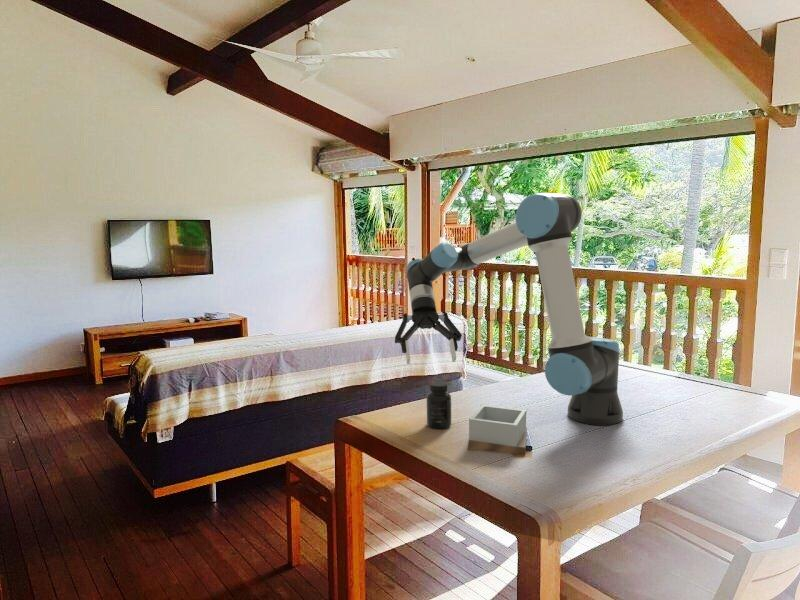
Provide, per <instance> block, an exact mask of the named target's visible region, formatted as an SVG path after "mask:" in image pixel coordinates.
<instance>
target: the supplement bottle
mask: <svg viewBox="0 0 800 600" xmlns="http://www.w3.org/2000/svg"><path fill="white" fill-rule="evenodd" d="M426 425H427V426H428V427H429V428H430V429H434V430H445V429H449V428H450V427H451V425H452V396H451V394H450V393H449V392H448V383H446V382H444V381H434V382H433V381H432V382H431V383H430V384H429V392H428V394H427V395H426Z"/></svg>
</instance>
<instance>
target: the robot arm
mask: <svg viewBox="0 0 800 600" xmlns="http://www.w3.org/2000/svg"><path fill="white" fill-rule="evenodd" d="M582 215H583V212H582V208H581V205H580V203H579V202H578V200H577V199H575V197H573V196H572V195H570V194H566V193H556V192H555V193H554V192H553V193H552V192H543V191H542V192H538V193H532V194H529V195H528V196H527V197H525V198H524V199H523V200H522V201H521V202H520V204H519V206H517V209H516V212H515V222H514V223H512V224H510V225H507V226H505V227H503V228H500V229H498V230H496V231H494V232H491V233H488V234H487V235H484V236H482V237H479V238H477V239H475V240H473V241H471V242H469V243H466V244H463V245H462V246H459V247H455V246H454V245H452V243H448V242H447V241H446V242H441V243H439V244H438V245H436V246H435V247H433V249H432V250H431V251H430V252H429V253H428V254H427V255H426V256H425V257H423V258H415V259H414V260H410V261H409V262H408V263H407V266H406V279H407V284H408V291H409V292H408V293H409V298H410V307H411V314H412V315H410V314H408V313H406V312H405V313H403V317H402V322H401V324H400V325H399V327H398V329H397V332H396V335H395V337H394V343H395V344H400V347H401V353H402V354H405V360H406V365H410V363H411V354H410V345H409V339H410V338H411V337H412V336H413V335H414V333H415V332H417V330H418V329H420V330H426V329H428V330H431V329H433V330H435V331H437V332H439V333H440V334H441V335H442V336H443V337H444V338H445V339H447V340H448V341H449V343H448V345H449V351H450V355H451V362H452V363H456V360H457V353H456V352H458V349H459V348H458V342H461V339H462V337H463V335H462V333H461V332H460V331H459V329H458V328H457V326H455V325H456V324H454V323H453V322H452V320H451V319H450V317H449V315H448V313H447V312H446V311H445V312H443V313H442V314H438V312H437V307H436V302H435V296H434V289H433V282H434V281H435V280H437V279H438V278H439V277H440V276H441V275H443V274H444V273H448V272H457V271H464V270H465V271H468V270H472V269H475V268H476V267H477V266H478V265H480V264H482V263H484V262H487V261H489V260H493V259H494V258H498V257H500V256H502V255H505V254H507V253H510V252H512V251H515V250H517V249H518V250H519V248H520V249H521V248H523V247H525V246H528V248H529V249H530V250H531V251H533V252H534V254H535V256H536V257H535V258H536V264H537V267H538V273H539V277H540V282H541V287H542V288H541V289H542V293H543V298H544V304H545V310H546V315H547V320H548V325H549V331H550V335H551V341H550V342H549V343H548V345H547V350H548V356H549V358H548V359H547V361H546V363H545V365H544V376H545V379H546V380H547V381H546V382H547V383H548V384H549V386H550V387H551V388H552V389H553V390H555V391H556V392H557V393H559V394H561V395H565V396H571V398H570V400H569V402H568V405H567V417H569V418H570V419H571V420H574V421H576V422H578V423H583V424H585V425H586V424H587V425H593V426H610V425H616V424H617V425H618V424H620V423H621V422H622V421H623V420H624V419H623V417H624V411H623V407H622V404H621V400H620V397H619V394H618V385H619V383H618V381H619V365H620V364H619V362H620V361H619V359H620V354H621V353H620V345H619V342H618V341H616V340H614V339H611V338H604V337H596V336H595V337H594V336H588V335H587V334H586V333H585V329H584V323H583V317H582V313H581V308H580V301H579V297H578V292H577V287H576V282H575V281H576V280H575V276H574V272H573V267H572V261H571V257H570V250H569V244H570V243H571V241H572V240H573V235H572V232H574V231H575V230H576V229H577V228H578V227H579V225H580V223H581V220H582ZM439 320H440V321H439ZM411 321H412V322H413V324H412V325H411V326H410V328H409V329H408V330H407V331H406V332H405V333H404V331H405V329H406V327H407V324H408V323H410V322H411ZM441 322H442V323H443V324H442V323H441ZM444 325H445V326H444ZM403 333H404V335H403Z"/></svg>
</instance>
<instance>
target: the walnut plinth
mask: <svg viewBox="0 0 800 600" xmlns="http://www.w3.org/2000/svg"><path fill="white" fill-rule="evenodd" d="M526 436H528V428H527V426H526V431H525V433H524V434H523V436H522V438H521V440H520V441H519V443H518V445H517V446H516V447H514V446H507V445H500V444H493V443H486V442H479V441H472V440H469V439H468V442H467V450H468V451H479V452H489V453H491V452H493V453H502V454H503V453H504V454H514V455H526V452H525V451H526V449H527V448H526V447H527V439H526Z"/></svg>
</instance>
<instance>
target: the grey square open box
mask: <svg viewBox="0 0 800 600" xmlns="http://www.w3.org/2000/svg"><path fill="white" fill-rule="evenodd" d="M526 427H527V410H526V409H520V408H511V407H505V406H504V407H502V406H495V405H485V404H481V405H480V406H479V407H478V408H477V409H476V411H475V412H474V413H473V414H472V415H471V417H470V418H468V441H469V440H472V441H479V442H486V443H493V444H500V445H507V446H514V447H516V446H517V445H518V443H519V441H520V440H521V438H522V436H523V434H524V433H525V431H526Z"/></svg>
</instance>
